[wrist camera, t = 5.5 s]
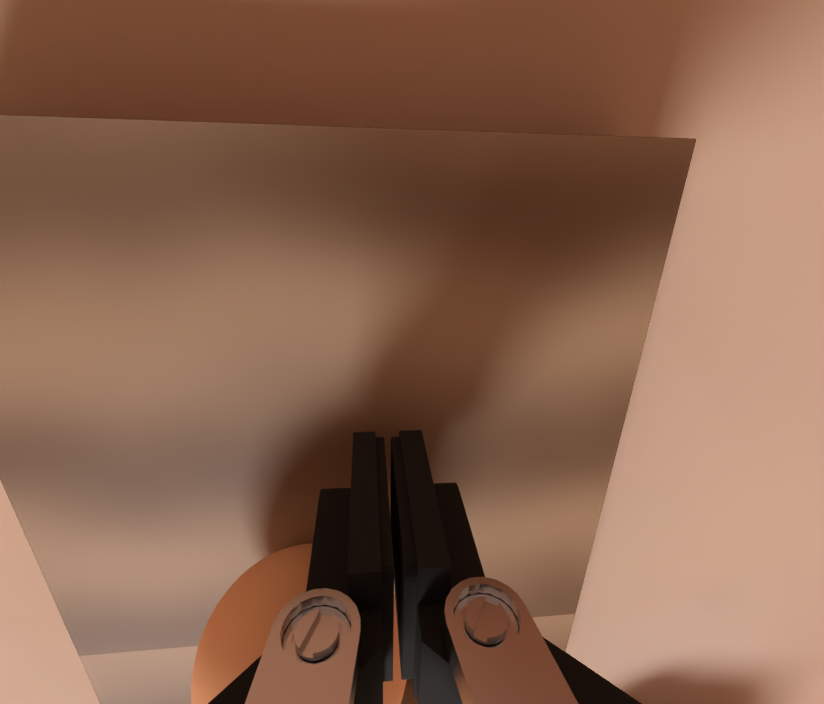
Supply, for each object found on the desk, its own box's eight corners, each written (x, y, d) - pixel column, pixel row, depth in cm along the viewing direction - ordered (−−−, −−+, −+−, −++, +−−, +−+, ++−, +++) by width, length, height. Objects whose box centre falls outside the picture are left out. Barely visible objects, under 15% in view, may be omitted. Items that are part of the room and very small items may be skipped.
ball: (110, 771, 7) (169, 799, 10) (419, 808, 7) (381, 824, 10) (233, 492, 11) (248, 576, 14) (430, 523, 11) (400, 599, 14)
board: (-22, 125, 10) (-165, 109, 7) (618, 145, 12) (696, 138, 9) (176, 716, 20) (145, 806, 17) (515, 682, 21) (537, 758, 18)
